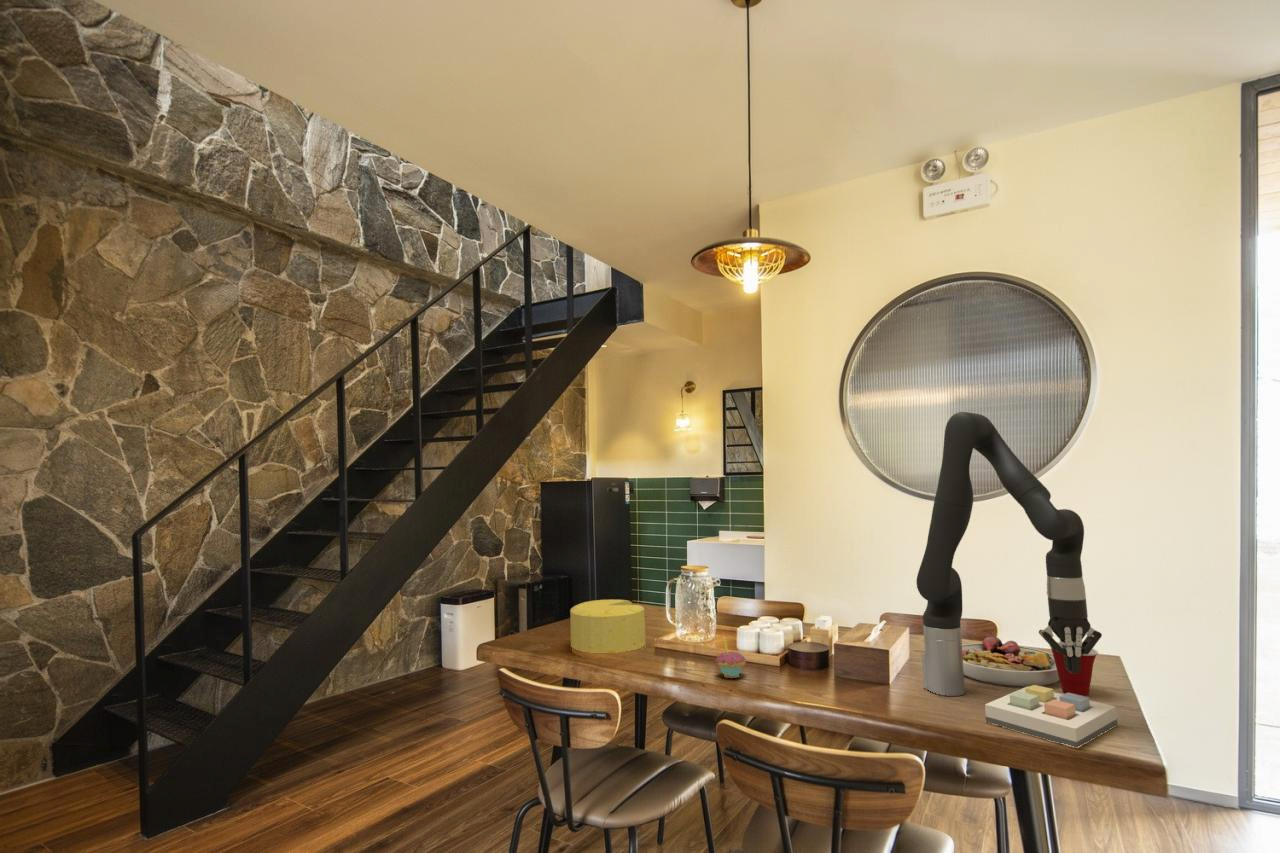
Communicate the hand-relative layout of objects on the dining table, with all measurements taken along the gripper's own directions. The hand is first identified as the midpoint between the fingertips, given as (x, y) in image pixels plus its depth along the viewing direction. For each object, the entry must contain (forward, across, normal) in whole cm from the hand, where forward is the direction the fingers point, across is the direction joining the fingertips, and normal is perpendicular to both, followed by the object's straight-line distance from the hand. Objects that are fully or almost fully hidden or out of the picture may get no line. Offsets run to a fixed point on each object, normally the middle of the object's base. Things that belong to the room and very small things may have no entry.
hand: (1073, 672), depth 150 cm
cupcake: (+11, -80, +30) cm, 86 cm away
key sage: (+8, -11, 0) cm, 13 cm away
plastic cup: (+12, +10, +23) cm, 28 cm away
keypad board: (+12, -6, 0) cm, 13 cm away
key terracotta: (+8, -6, -5) cm, 11 cm away
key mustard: (+8, -6, +5) cm, 11 cm away
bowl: (+12, -1, +40) cm, 42 cm away
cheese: (+10, -124, +59) cm, 137 cm away
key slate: (+8, 0, 0) cm, 8 cm away
